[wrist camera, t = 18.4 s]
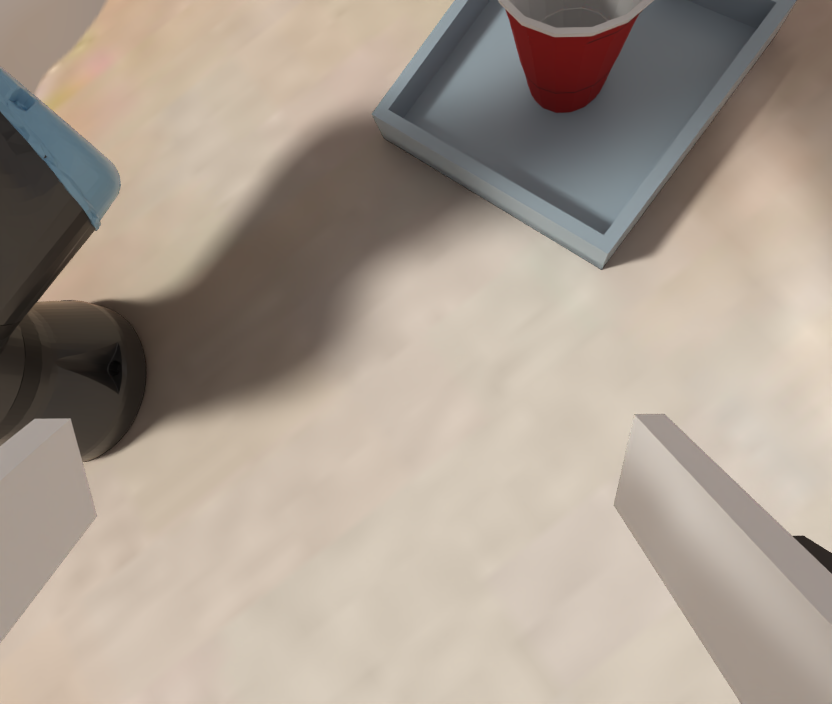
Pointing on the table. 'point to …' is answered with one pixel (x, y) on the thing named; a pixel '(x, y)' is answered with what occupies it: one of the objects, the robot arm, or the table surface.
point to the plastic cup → (569, 46)
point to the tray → (574, 114)
